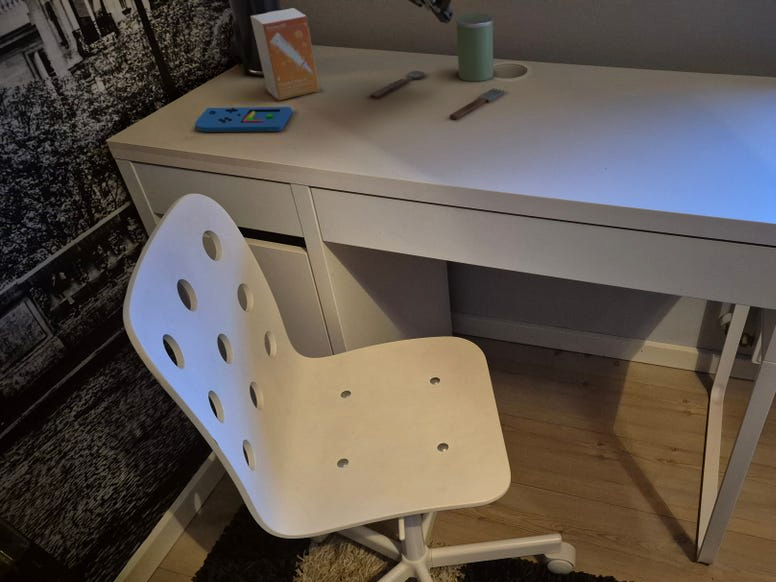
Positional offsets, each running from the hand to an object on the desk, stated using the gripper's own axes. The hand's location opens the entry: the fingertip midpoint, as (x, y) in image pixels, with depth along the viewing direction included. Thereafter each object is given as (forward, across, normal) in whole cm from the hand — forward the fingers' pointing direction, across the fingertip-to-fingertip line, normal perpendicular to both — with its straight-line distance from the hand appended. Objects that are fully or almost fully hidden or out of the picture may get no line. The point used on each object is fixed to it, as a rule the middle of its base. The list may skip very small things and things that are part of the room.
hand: (447, 18), depth 115 cm
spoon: (+5, +9, +12) cm, 15 cm away
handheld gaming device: (-14, +21, +31) cm, 39 cm away
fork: (+5, -9, +12) cm, 16 cm away
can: (+14, -1, +3) cm, 14 cm away
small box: (-3, +24, +20) cm, 32 cm away
